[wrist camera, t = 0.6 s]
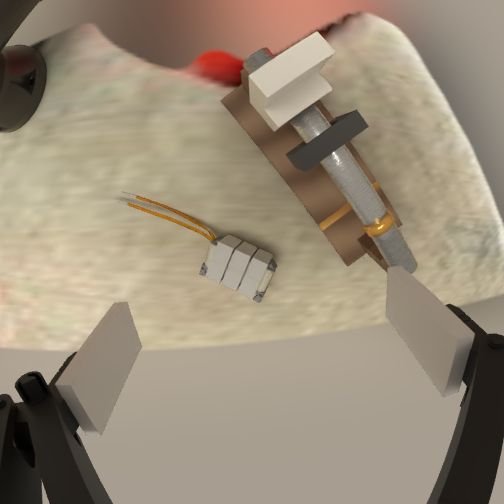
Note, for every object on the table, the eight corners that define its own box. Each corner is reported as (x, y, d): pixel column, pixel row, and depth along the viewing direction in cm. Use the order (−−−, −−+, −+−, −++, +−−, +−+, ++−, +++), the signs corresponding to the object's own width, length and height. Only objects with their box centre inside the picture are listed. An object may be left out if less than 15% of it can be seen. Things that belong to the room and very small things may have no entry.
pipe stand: (221, 102, 39) (211, 86, 29) (281, 59, 37) (290, 32, 27) (344, 263, 45) (368, 293, 35) (398, 222, 43) (433, 242, 33)
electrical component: (122, 223, 47) (104, 228, 42) (133, 187, 45) (115, 189, 40) (265, 292, 45) (259, 305, 40) (282, 254, 43) (278, 264, 39)
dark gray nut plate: (285, 154, 33) (293, 155, 26) (336, 117, 31) (356, 109, 25) (295, 167, 33) (306, 172, 26) (346, 130, 32) (368, 126, 25)
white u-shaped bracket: (249, 102, 30) (248, 75, 19) (295, 70, 29) (317, 31, 18) (274, 131, 31) (285, 120, 20) (319, 99, 30) (353, 74, 19)
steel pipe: (241, 70, 28) (240, 62, 25) (267, 52, 28) (269, 42, 24) (388, 272, 35) (400, 283, 31) (410, 255, 34) (423, 265, 31)
